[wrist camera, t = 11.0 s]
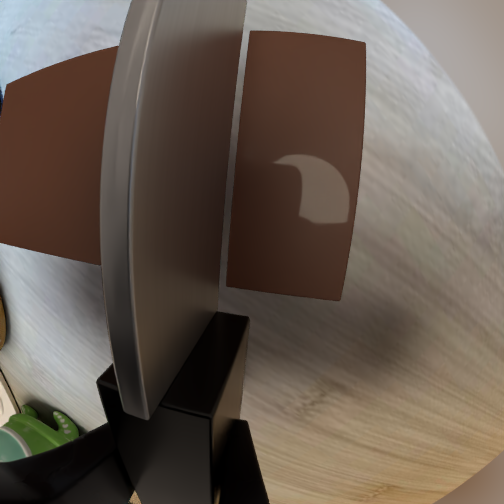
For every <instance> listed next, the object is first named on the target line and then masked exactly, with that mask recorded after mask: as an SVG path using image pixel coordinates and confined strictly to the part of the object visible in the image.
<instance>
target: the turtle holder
mask: <svg viewBox="0 0 504 504" xmlns="http://www.w3.org/2000/svg"><path fill="white" fill-rule="evenodd" d="M21 410H22V413H23V414H21V413H20V414H14V415H12V416H10V417H9V421H8V422H6V423H5V424H4V425H3V426H1V427H0V462H9V461H14V460H18V459H22V458H25V457H29V456H32V455H36V454H39V453H42V452H45V451H48V450H51V449H53V448H56V447H58V446H60V445H63V444H65V443H67V442H69V441H73V439H76V438H78V437H79V433H78V429H77V427H76V426H75V424H74V423H73V422H72V421H71V420H70V419H69V418H68V417H67V416H65V415H64V414H62V413H60V412H58V411H54V412H53V417H54V419H55V421H56V423H57V424H58V427H59V429H58V431H55V430H53V429H52V428H50V427H49V426H47V425H46V424H44V423H42V422H41V421H39V420H37V418H38V414H37V412H36V411H35V410H34V409H32V408H31V407H30V406H27V405H23V406H22V408H21Z"/></svg>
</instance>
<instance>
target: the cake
mask: <svg viewBox="0 0 504 504" xmlns="http://www.w3.org/2000/svg"><path fill="white" fill-rule="evenodd" d="M118 48H119V46H115V47H111V48H107V49H103V50H99V51H95V52H92V53H88V54H85V55H81V56H78V57H75V58H72V59H69V60H66V61H63V62H60V63H57V64H54V65H52V66H49V67H46V68H44V69H41V70H39V71H36V72H34V73H31V74H29V75H27V76H24V77H22V78H20V79H18V80H15V81H13V82H11V83H9V84H7V85H6V90H5V95H4V100H3V105H2V111H1V117H0V243H3V244H7V245H11V246H15V247H19V248H24V249H28V250H32V251H36V252H41V253H45V254H49V255H54V256H58V257H63V258H68V259H72V260H77V261H82V262H86V263H91V264H96V265H101V252H100V180H101V162H102V149H103V138H104V129H105V120H106V113H107V106H108V99H109V93H110V87H111V81H112V76H113V71H114V66H115V61H116V56H117V52H118Z"/></svg>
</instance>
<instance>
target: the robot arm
mask: <svg viewBox="0 0 504 504" xmlns="http://www.w3.org/2000/svg"><path fill="white" fill-rule="evenodd" d="M134 491H135V489H134V487H133V485H132V482H131V480H130V478H129V476H128V473H127V471H126V469H125V466H124V464H123V462H122V459H121V457H120V454H119V452H118V449H117V446H116V444H115V441H114V438H113V436H112V433H111V430H110V427H109V424H108V422H107V423H105V424H104V425H102V426H100V427H98V428H96V429H94V430H92V431H90V432H88V433H86V434H84V435H82V436H80V437H78V438H76V439H73V441H69V442H67V443H65V444H63V445H60V446H58V447H56V448H53V449H51V450H48V451H45V452H42V453H39V454H36V455H32V456H29V457H25V458H22V459H18V460H14V461H9V462H0V504H128V502H129V500H130V498H131V496H132V494H133V493H134ZM219 504H270V503H269V499H268V496H267V492H266V489H265V485H264V482H263V478H262V475H261V471H260V467H259V463H258V460H257V456H256V452H255V448H254V445H253V441H252V437H251V433H250V429H249V425H248V422H247V421H246V420H241V419H235V422H234V425H233V428H232V431H231V434H230V437H229V440H228V443H227V446H226V449H225V452H224V459H223V468H222V477H221V486H220V495H219Z"/></svg>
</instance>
